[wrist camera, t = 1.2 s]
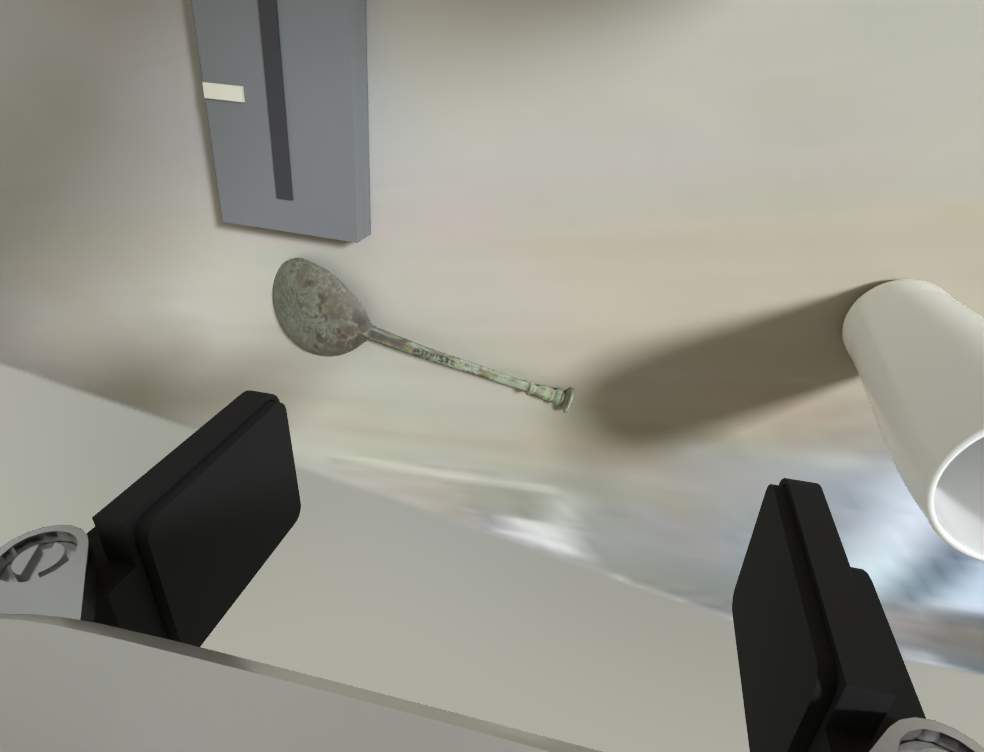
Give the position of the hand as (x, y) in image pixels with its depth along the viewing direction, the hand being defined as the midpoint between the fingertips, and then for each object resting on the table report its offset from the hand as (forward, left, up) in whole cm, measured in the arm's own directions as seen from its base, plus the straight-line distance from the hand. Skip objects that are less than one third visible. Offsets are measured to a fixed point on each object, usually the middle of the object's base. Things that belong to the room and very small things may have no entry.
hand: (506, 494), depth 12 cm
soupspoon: (+11, -11, -27) cm, 31 cm away
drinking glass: (+4, +16, -26) cm, 31 cm away
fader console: (-8, -19, -26) cm, 33 cm away
